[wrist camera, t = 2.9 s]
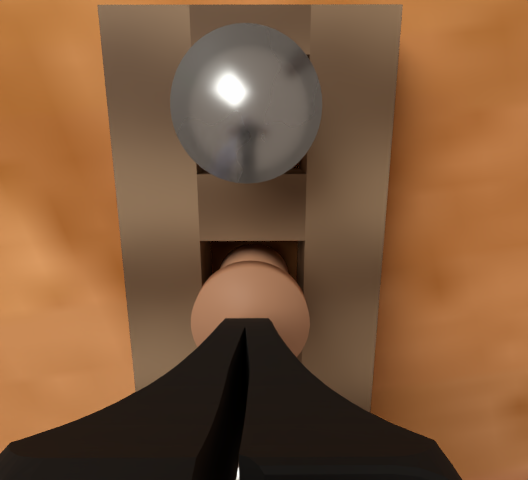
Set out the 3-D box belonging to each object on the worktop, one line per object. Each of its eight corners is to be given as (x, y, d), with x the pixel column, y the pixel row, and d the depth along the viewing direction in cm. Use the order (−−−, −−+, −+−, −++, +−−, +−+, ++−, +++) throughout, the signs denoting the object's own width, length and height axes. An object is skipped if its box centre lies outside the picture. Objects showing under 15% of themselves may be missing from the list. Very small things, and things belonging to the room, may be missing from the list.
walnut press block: (349, 443, 21) (363, 493, 18) (162, 443, 21) (145, 493, 18) (376, 29, 16) (402, 4, 13) (128, 30, 15) (97, 4, 13)
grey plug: (303, 170, 14) (319, 183, 10) (201, 170, 14) (174, 183, 10) (305, 60, 13) (325, 22, 9) (196, 60, 13) (165, 22, 9)
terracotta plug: (297, 317, 17) (308, 376, 13) (211, 317, 17) (193, 377, 13) (298, 234, 16) (311, 268, 12) (207, 234, 16) (187, 268, 12)
